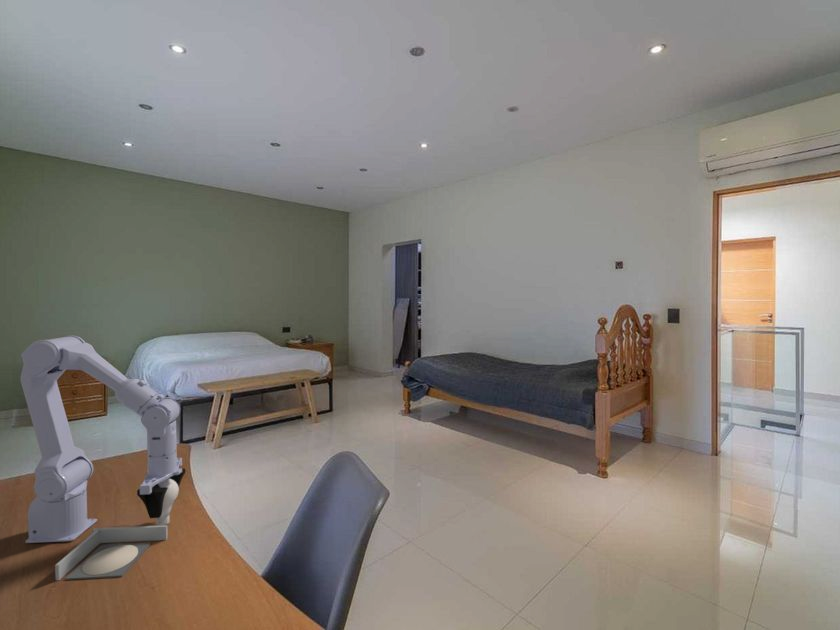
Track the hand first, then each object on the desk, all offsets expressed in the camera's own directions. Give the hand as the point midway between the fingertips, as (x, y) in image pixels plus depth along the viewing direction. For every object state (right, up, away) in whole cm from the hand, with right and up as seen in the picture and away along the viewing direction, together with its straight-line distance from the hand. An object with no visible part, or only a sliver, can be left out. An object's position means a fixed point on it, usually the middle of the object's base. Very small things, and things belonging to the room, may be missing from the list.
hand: (163, 509), depth 93 cm
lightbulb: (0, -4, 0) cm, 4 cm away
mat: (-3, -5, -12) cm, 13 cm away
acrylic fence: (-3, -5, -11) cm, 12 cm away
